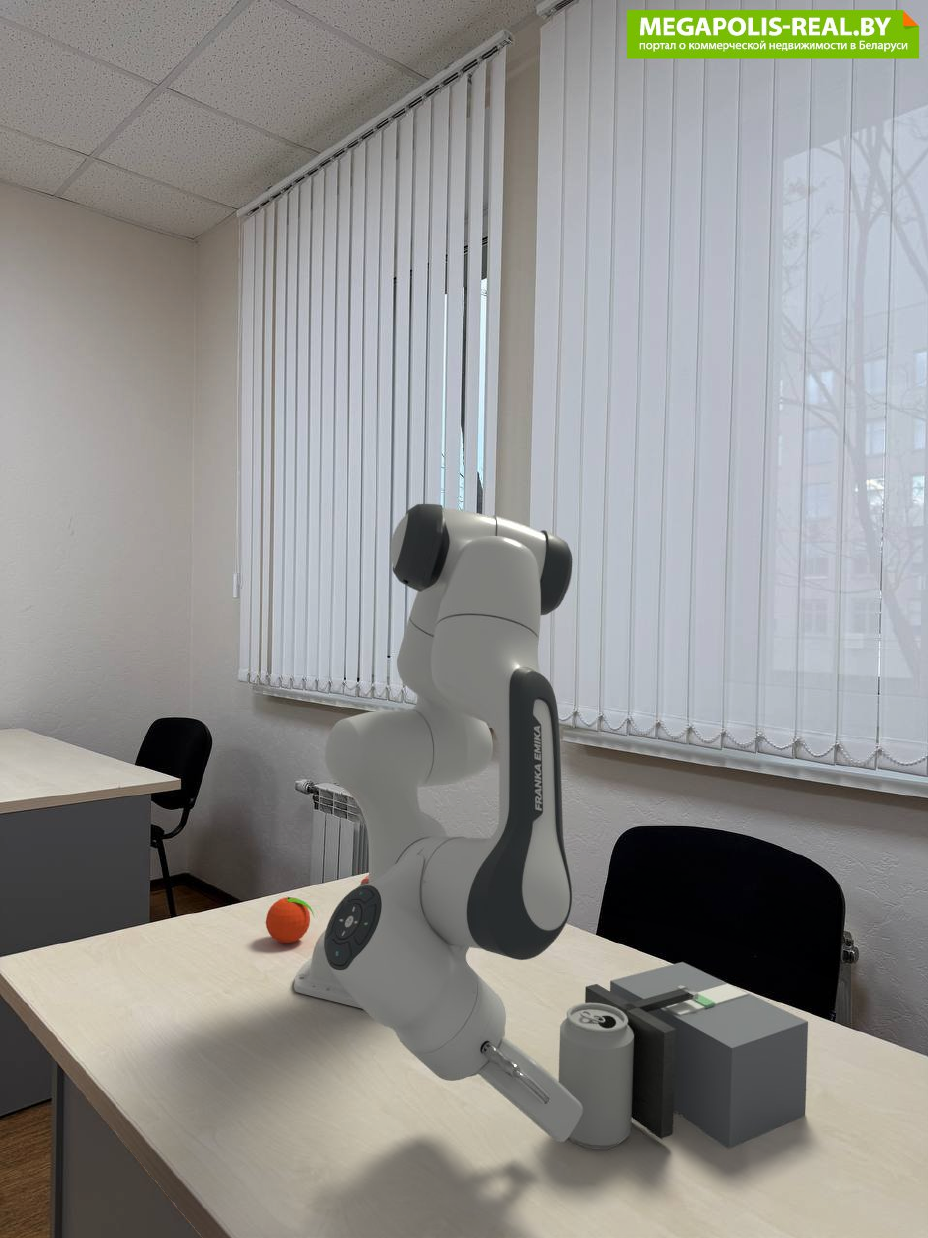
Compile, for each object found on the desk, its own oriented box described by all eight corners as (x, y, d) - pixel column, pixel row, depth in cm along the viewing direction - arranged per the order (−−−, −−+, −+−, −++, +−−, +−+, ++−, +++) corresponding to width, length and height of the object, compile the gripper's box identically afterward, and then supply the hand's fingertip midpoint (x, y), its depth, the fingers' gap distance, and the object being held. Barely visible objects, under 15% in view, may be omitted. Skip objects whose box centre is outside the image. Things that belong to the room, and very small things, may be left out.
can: (629, 1160, 82) (633, 1036, 82) (552, 1147, 84) (556, 1026, 84) (631, 1117, 89) (635, 1003, 89) (560, 1106, 91) (564, 994, 91)
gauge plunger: (661, 1139, 84) (664, 1033, 84) (582, 1081, 94) (585, 986, 94) (730, 1111, 89) (733, 1011, 89) (648, 1059, 99) (651, 969, 99)
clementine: (322, 937, 137) (324, 893, 137) (304, 953, 130) (306, 907, 130) (277, 931, 139) (278, 888, 139) (257, 947, 132) (258, 901, 132)
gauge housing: (729, 1148, 84) (732, 1044, 85) (607, 1065, 100) (610, 977, 100) (805, 1115, 91) (808, 1018, 91) (680, 1042, 106) (682, 958, 106)
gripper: (545, 1043, 70) (629, 1128, 75) (425, 957, 88) (500, 1030, 93) (499, 1112, 68) (589, 1194, 73) (385, 1009, 85) (464, 1081, 90)
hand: (538, 1102), depth 83 cm, fingers closed
